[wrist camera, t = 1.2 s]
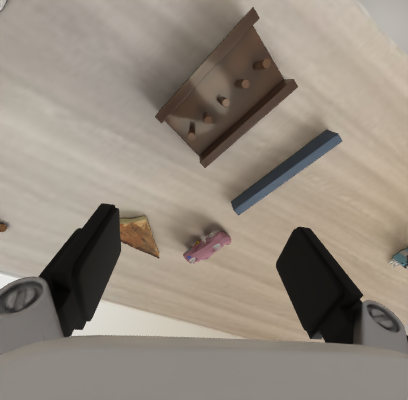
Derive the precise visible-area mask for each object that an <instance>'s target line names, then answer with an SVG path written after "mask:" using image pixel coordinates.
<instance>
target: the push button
mask: <svg viewBox="0 0 408 400" xmlns="http://www.w3.org/2000/svg"><path fill="white" fill-rule="evenodd" d="M393 258H394V260H393V261H391V262H392V263H394V262H396V261H397V263H396V264H394V265H395V266H397V265H400V264H401V265H402V266H403V267H404V268H407V269H408V248H407V249H405V250H402V251H400V252H399V253H398V254H396V255H395V256H393ZM391 262H390V263H389V264H392V263H391ZM394 265H393V266H392V267H395V266H394Z"/></svg>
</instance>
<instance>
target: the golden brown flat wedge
mask: <svg viewBox="0 0 408 400" xmlns="http://www.w3.org/2000/svg"><path fill="white" fill-rule="evenodd" d="M120 236H121V242H122V243H125V244H128V245H129V246H131V247H133V248H135V249H138V250H140V251H143V252H145V253H148V254H151V255H153V256H155V257H157V258H159V251H158V249H157V247H156V245H155V242H154V239H153V236H152V233H151V229H150V227H149V225H148V221H147V219H146V216H142V217H138V218H134V219H126V218H125V219H124V218H123V219H120Z"/></svg>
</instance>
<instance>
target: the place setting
mask: <svg viewBox="0 0 408 400" xmlns="http://www.w3.org/2000/svg"><path fill="white" fill-rule="evenodd" d="M6 229H7V226H6V225H5V224H0V232H4V231H5V230H6Z"/></svg>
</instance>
